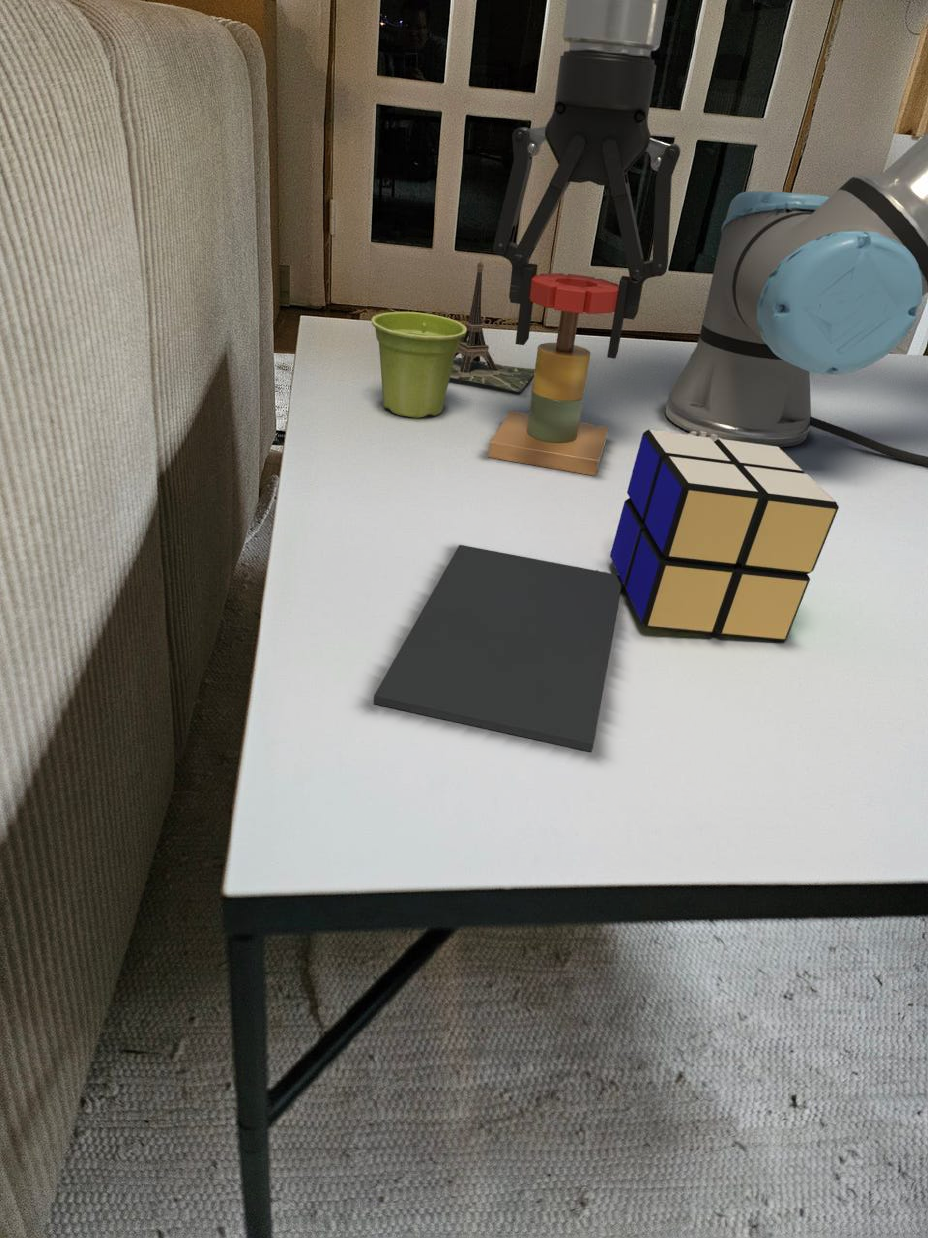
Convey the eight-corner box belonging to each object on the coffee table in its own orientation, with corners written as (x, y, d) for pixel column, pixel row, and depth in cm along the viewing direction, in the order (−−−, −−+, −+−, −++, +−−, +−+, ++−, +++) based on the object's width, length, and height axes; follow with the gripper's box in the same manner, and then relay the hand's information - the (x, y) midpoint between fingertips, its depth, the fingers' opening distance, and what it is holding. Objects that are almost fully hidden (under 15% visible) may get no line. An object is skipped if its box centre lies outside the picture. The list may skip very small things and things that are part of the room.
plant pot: (462, 401, 98) (471, 318, 93) (453, 429, 89) (461, 340, 85) (376, 390, 98) (380, 307, 93) (359, 417, 90) (363, 327, 85)
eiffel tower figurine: (392, 373, 104) (399, 249, 97) (419, 353, 113) (427, 238, 106) (519, 395, 101) (536, 269, 94) (537, 373, 110) (553, 256, 103)
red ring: (619, 301, 83) (623, 280, 82) (612, 317, 76) (616, 295, 76) (537, 290, 84) (540, 269, 83) (523, 305, 78) (526, 283, 77)
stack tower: (605, 441, 91) (630, 307, 84) (595, 476, 82) (622, 329, 76) (508, 425, 92) (524, 291, 86) (487, 457, 84) (504, 312, 77)
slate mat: (621, 582, 65) (623, 575, 64) (591, 752, 48) (593, 743, 47) (458, 551, 66) (459, 544, 66) (373, 704, 49) (373, 695, 49)
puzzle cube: (607, 557, 66) (642, 426, 61) (736, 572, 68) (780, 445, 63) (641, 629, 58) (685, 484, 53) (787, 644, 59) (844, 504, 54)
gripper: (741, 65, 72) (681, 354, 84) (491, 42, 75) (466, 323, 87) (745, 62, 66) (679, 375, 78) (471, 36, 69) (447, 340, 81)
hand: (567, 347), depth 82 cm, fingers closed on red ring, 8 cm apart
